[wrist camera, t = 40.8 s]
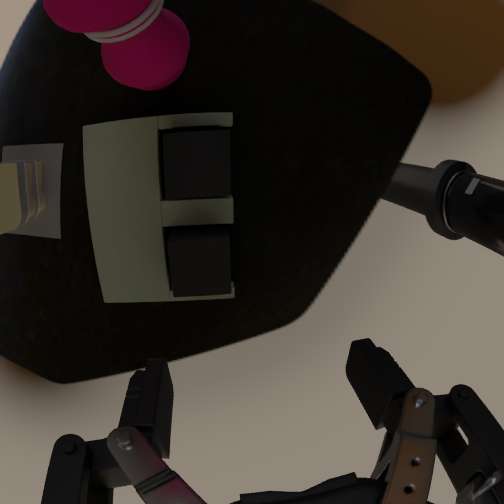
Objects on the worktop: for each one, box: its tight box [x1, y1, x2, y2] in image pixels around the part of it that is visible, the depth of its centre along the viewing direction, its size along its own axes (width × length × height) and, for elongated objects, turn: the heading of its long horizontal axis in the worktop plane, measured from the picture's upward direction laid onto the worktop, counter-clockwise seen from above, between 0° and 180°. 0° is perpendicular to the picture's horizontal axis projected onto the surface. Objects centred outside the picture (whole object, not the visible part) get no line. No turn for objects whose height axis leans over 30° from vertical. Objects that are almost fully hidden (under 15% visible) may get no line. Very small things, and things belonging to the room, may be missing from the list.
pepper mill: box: [43, 0, 190, 91], centre depth 12 cm, size 7×7×20 cm
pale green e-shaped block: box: [83, 112, 235, 303], centre depth 26 cm, size 14×18×2 cm
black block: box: [167, 226, 232, 297], centre depth 27 cm, size 5×5×4 cm
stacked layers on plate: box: [0, 144, 63, 239], centre depth 21 cm, size 10×9×6 cm
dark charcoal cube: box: [163, 130, 231, 199], centre depth 24 cm, size 5×5×4 cm
